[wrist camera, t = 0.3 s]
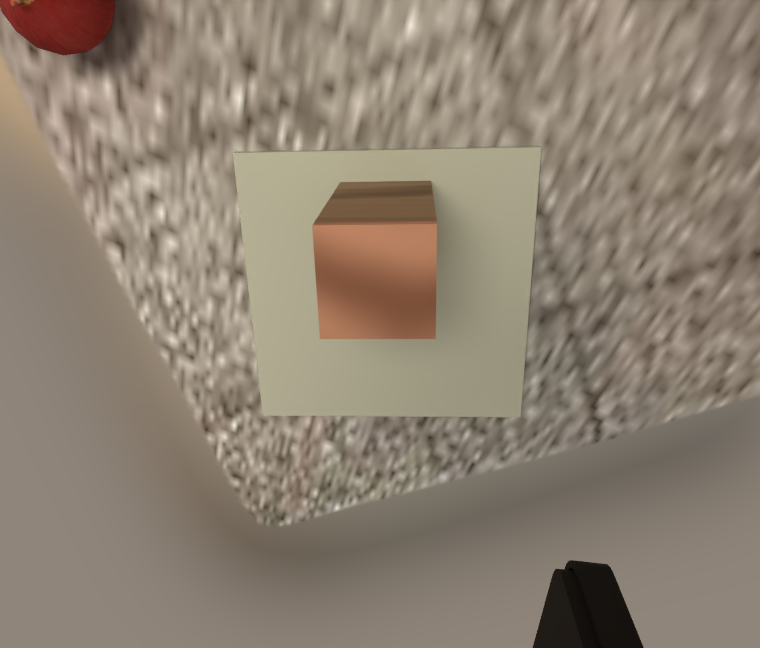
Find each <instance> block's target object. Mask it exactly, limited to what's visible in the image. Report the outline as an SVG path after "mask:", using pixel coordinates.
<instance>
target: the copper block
mask: <svg viewBox="0 0 760 648" xmlns="http://www.w3.org/2000/svg"><path fill="white" fill-rule="evenodd" d="M312 231H313V246H314V260H315V275H316V290H317V304H318V319H319V333H320V339H436V277H437V219H436V212H435V205H434V198H433V191H432V184H431V181H380V182H340V183H339V185H338V186H337V188H336V189H335V191H334V193H333V194H332V196H331V197H330V199H329V200H328V202H327V203H326V205H325V206H324V208H323V209H322V211H321V213H320V214H319V216H318V217H317V219H316V220H315V222H314V223H313V225H312Z"/></svg>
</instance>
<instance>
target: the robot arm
mask: <svg viewBox="0 0 760 648" xmlns="http://www.w3.org/2000/svg"><path fill="white" fill-rule="evenodd" d="M533 648H643V645H642V643H641V640H640V638H639V635H638V633H637V630H636V628H635V625H634V623H633V620H632V618H631V616H630V613H629V611H628V608H627V606H626V603H625V601H624V598H623V596H622V593H621V591H620V588H619V586H618V583H617V581H616V578H615V576H614V574H613V572H612V570H611V568H610V567H609V566H608V565H607V564H598V563H591V562H590V563H589V562H581V561H569V562H568V563H567V564H566V567H565V569H564V570H563V569H556V570H555V571H554V573H553V576H552V579H551V583H550V587H549V590H548V594H547V597H546V601H545V605H544V608H543V612H542V616H541V619H540V623H539V627H538V630H537V634H536V638H535V641H534V645H533Z"/></svg>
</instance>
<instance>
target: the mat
mask: <svg viewBox="0 0 760 648" xmlns="http://www.w3.org/2000/svg"><path fill="white" fill-rule="evenodd" d="M233 158H234V167H235V176H236V184H237V193H238V202H239V211H240V219H241V228H242V237H243V245H244V254H245V263H246V272H247V280H248V289H249V298H250V306H251V315H252V324H253V333H254V341H255V350H256V359H257V367H258V376H259V385H260V394H261V402H262V411H263V415H272V416H410V417H521V407H522V394H523V380H524V367H525V354H526V341H527V328H528V315H529V302H530V289H531V276H532V263H533V250H534V237H535V223H536V210H537V197H538V184H539V171H540V158H541V147H540V146H532V147H477V148H423V149H369V150H314V151H260V152H234V153H233ZM380 181H431V184H432V191H433V198H434V205H435V212H436V219H437V277H436V339H320V333H319V319H318V304H317V290H316V275H315V260H314V246H313V231H312V225H313V223H314V222H315V220H316V219H317V217H318V216H319V214H320V213H321V211H322V209H323V208H324V206H325V205H326V203H327V202H328V200H329V199H330V197H331V196H332V194H333V193H334V191H335V189H336V188H337V186H338V185H339V183H340V182H380Z"/></svg>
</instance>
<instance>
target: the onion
mask: <svg viewBox="0 0 760 648" xmlns="http://www.w3.org/2000/svg"><path fill="white" fill-rule="evenodd" d="M0 7H1V10H2V13H3V14H4V15H5V17H6V18H7V19H8V21H9V22H10V23H11V25H12V26H13V27H14V29H15V30H16V31H17V32H18V33H19V34H21V35H22V36H23V37H24V38H26V39H27V40H28V41H29V42H31V43H32V44H33V45H34V46H36V47H37V48H40V49H43V50H47V51H50V52H54V53H57V54H61V55H69V54H76V53H82V52H88V51H89V50H91V49H92V48H94V47H95V46H97V45H98V44H100V43H101V42H102V41H103V40H104V38H105V36H106V35H107V33H108V32H109V30H110V29H111V27H112V23H113V17H114V11H115V2H114V0H0Z"/></svg>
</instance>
